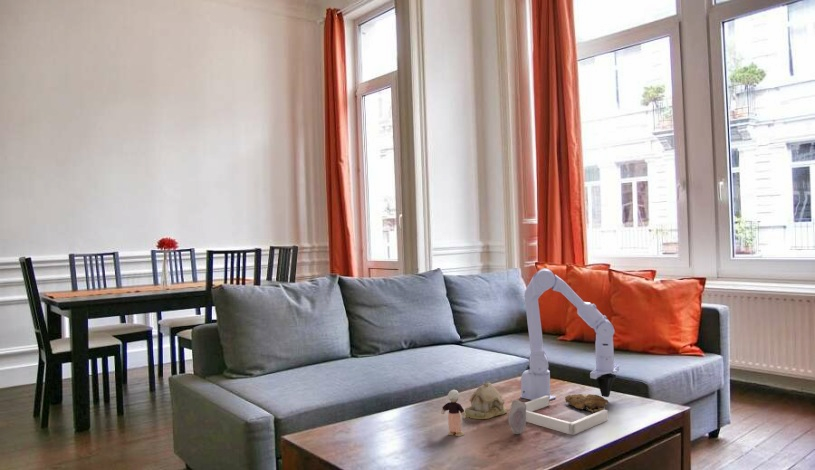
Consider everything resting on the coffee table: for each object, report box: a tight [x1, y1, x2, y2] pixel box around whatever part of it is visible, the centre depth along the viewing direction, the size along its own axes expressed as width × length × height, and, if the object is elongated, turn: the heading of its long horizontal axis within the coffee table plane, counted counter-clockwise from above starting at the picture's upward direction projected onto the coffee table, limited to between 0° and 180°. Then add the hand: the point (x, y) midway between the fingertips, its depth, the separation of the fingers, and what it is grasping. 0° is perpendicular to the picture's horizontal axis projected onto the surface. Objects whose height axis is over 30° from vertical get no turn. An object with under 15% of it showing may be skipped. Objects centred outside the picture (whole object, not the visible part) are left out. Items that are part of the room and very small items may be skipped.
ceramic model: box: [464, 381, 508, 420], centre depth 190 cm, size 14×11×10 cm
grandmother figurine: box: [440, 389, 467, 437], centre depth 172 cm, size 8×4×13 cm, turn 71°
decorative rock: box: [564, 393, 609, 414], centre depth 193 cm, size 11×4×15 cm
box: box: [509, 396, 609, 436], centre depth 183 cm, size 22×18×3 cm
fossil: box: [507, 399, 527, 435], centre depth 170 cm, size 6×4×10 cm, turn 117°
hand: (605, 396), depth 200 cm, fingers closed
